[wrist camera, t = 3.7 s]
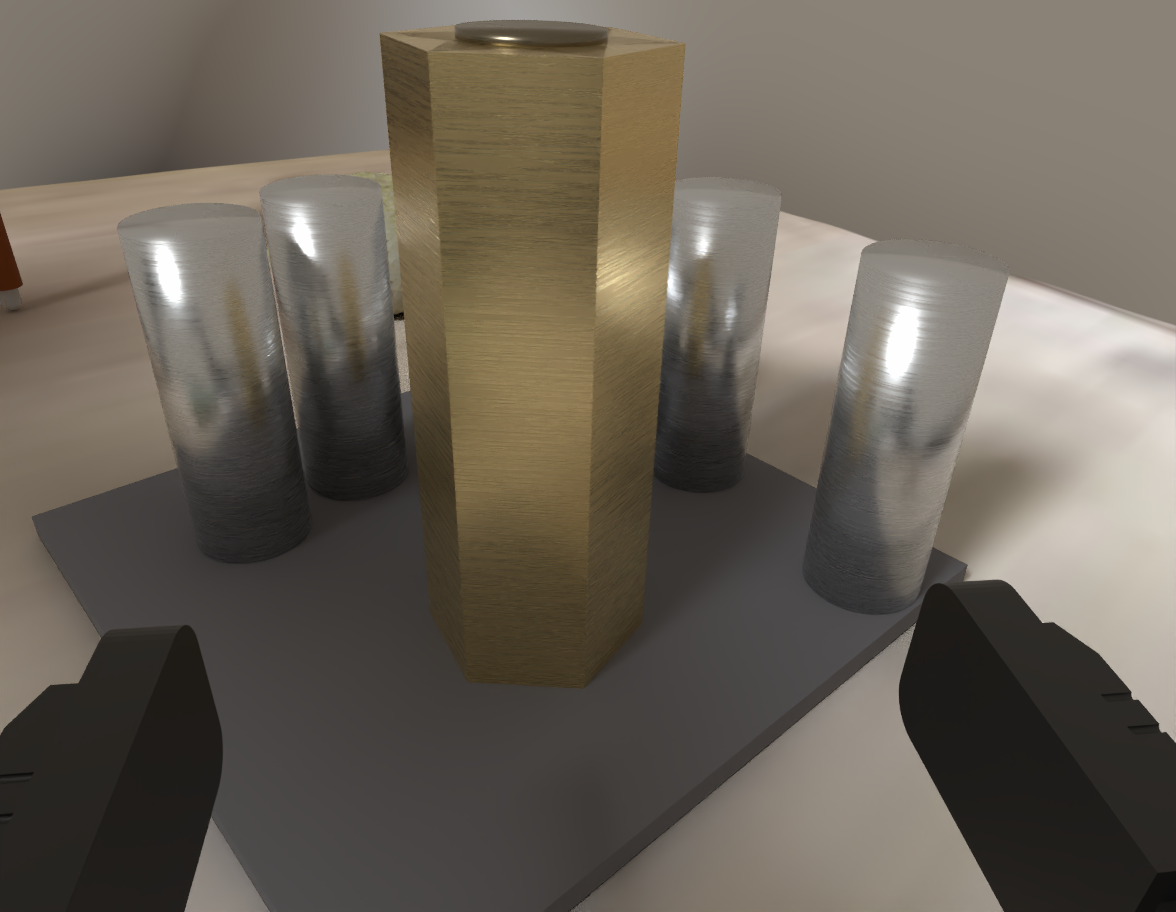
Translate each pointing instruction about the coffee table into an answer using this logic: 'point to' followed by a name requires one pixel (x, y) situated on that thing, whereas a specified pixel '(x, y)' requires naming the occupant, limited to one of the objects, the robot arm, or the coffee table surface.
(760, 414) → the coffee table surface
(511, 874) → the mat
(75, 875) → the robot arm
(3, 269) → the magnifying glass
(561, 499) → the gold hexagonal pillar
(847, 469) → the spacer posts
